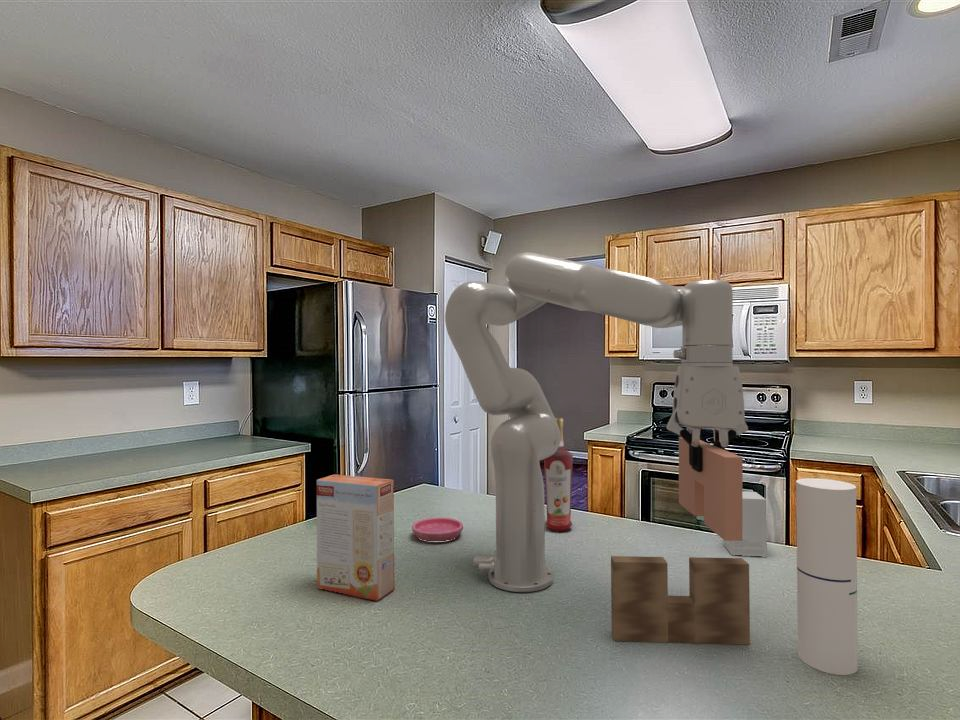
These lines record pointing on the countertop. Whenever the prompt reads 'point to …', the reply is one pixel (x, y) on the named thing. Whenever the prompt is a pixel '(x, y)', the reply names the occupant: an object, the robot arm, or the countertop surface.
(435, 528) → the saucer
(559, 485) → the liquor
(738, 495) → the terracotta slotted plate
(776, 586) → the countertop surface
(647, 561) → the walnut slotted plate
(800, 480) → the cylindrical container
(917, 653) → the countertop surface
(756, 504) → the supplement box
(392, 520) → the cracker box
